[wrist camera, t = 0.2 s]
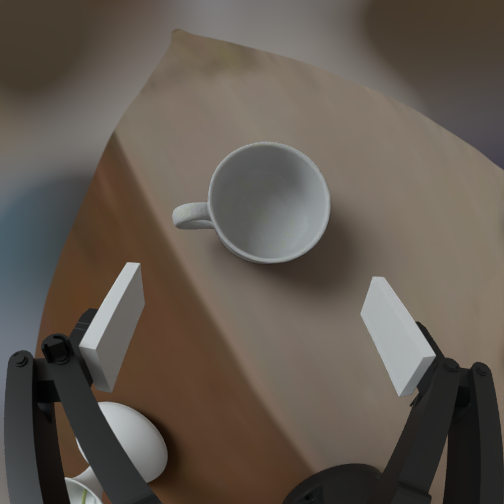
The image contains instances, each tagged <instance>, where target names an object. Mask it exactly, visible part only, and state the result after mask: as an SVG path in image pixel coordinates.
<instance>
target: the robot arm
mask: <svg viewBox="0 0 504 504" xmlns="http://www.w3.org/2000/svg"><path fill="white" fill-rule="evenodd" d="M144 305H145V301H144V294H143V286H142V277H141V268H140V263H128V262H127V264H126V265H125V267H124V268H123V270H122V271H121V273H120V275H119V276H118V278H117V280H116V281H115V283H114V285H113V286H112V288H111V290H110V291H109V293H108V295H107V296H106V298H105V300H104V301H103V303H102V305H101V307H100V308H99V309H92V308H90V309H88V310H87V311H86V312H85V313H83V314H82V316H81V317H80V319H79V321H78V323H77V324H76V326H75V329H73V331H72V333H71V334H70V336H69V338H68V337H67V336H66V335H64V334H59V333H57V334H52V335H50V336H48V337H47V338H46V339H44V340H43V342H42V345H41V349H42V352H43V354H44V356H45V358H39V359H34V358H33V356H32V355H31V353H30V352H28V351H23V350H21V351H18V352H16V353H14V354H13V355H12V356H11V357H10V359H9V362H8V369H7V379H6V391H5V412H4V442H5V443H4V444H5V462H6V474H7V484H8V491H9V498H10V504H71V503H70V499H69V495H68V491H67V486H66V482H65V477H64V472H63V467H62V462H61V456H60V450H59V443H58V436H57V428H56V419H55V409H54V402H61V403H62V405H63V408H64V410H65V413H66V415H67V418H68V420H69V422H70V425H71V427H72V429H73V432H74V434H75V436H76V438H77V440H78V442H79V445H80V447H81V449H82V451H83V453H84V455H85V457H86V459H87V461H88V463H89V464H90V466H91V468H92V470H93V472H94V474H95V476H96V477H97V479H98V481H99V483H100V484H101V486H102V488H103V489H104V491H105V493H106V494H107V496H108V498H109V499H110V501H111V502H112V504H162V503H161V501H160V500H159V499H158V497H157V496H156V495H155V494H154V492H153V491H152V490H151V488H150V487H149V486H148V484H147V483H146V482H145V480H144V479H143V477H142V476H141V474H140V473H139V472H138V470H137V469H136V467H135V466H134V464H133V463H132V461H131V460H130V458H129V457H128V455H127V453H126V452H125V450H124V449H123V447H122V445H121V444H120V442H119V441H118V439H117V437H116V436H115V434H114V432H113V430H112V429H111V427H110V425H109V423H108V422H107V420H106V418H105V416H104V414H103V412H102V410H101V409H100V407H99V405H98V403H97V401H96V399H95V397H94V395H93V393H92V391H91V389H90V388H91V385H92V383H94V385H95V388H96V389H97V390H101V391H106V392H111V393H112V390H113V387H114V384H115V381H116V378H117V375H118V373H119V370H120V367H121V364H122V362H123V359H124V356H125V353H126V351H127V348H128V345H129V343H130V340H131V338H132V335H133V332H134V330H135V327H136V325H137V322H138V320H139V317H140V315H141V312H142V310H143V308H144ZM361 316H362V318H363V320H364V322H365V324H366V327H367V329H368V331H369V333H370V335H371V337H372V339H373V341H374V343H375V345H376V347H377V350H378V352H379V354H380V356H381V358H382V360H383V362H384V365H385V367H386V369H387V371H388V374H389V376H390V378H391V380H392V383H393V385H394V387H395V389H396V392H397V394H398V396H399V397H400V396H406V395H411V394H412V393H413V391H414V390H415V388H416V387H417V388H418V390H419V393H418V395H417V396H416V398H415V399H414V400H413V402H412V403H411V404H410V406H412V405H413V407H412V409H411V412H410V414H409V417H408V419H407V422H406V424H405V427H404V429H403V431H402V434H401V436H400V438H399V441H398V443H397V445H396V447H395V449H394V452H393V454H392V456H391V458H390V460H389V462H388V464H387V466H386V468H385V470H384V472H383V474H382V473H381V472H380V471H379V470H377V469H376V468H374V467H372V466H369V465H365V464H345V465H340V466H335V467H332V468H329V469H326V470H323V471H321V472H319V473H317V474H315V475H313V476H311V477H309V478H308V479H306V480H305V481H303V482H302V483H300V484H299V485H298V486H297V487H295V488H294V489H293V490H292V491H291V492H290V493H289V495H288V496H287V497H286V499H285V500H284V502H283V504H430V502H431V495H429V494H428V492H429V489H430V486H431V484H432V481H433V478H434V475H435V473H436V470H437V467H438V464H439V461H440V458H441V455H442V452H443V448H444V445H445V442H446V438H447V434H448V453H447V469H446V481H445V490H444V498H443V504H504V462H503V446H502V435H501V426H500V418H499V411H498V405H497V399H496V393H495V388H494V382H493V378H492V373H491V370H490V369H489V367H488V366H487V365H485V364H484V363H481V362H476V363H474V364H473V366H472V367H471V368H470V369H466V368H460V366H459V364H458V363H457V362H456V361H454V360H453V359H450V358H445V357H444V355H443V354H442V352H441V350H440V349H439V347H438V346H437V344H436V343H435V341H433V338H432V337H431V335H430V333H429V332H428V330H427V329H426V327H424V326H423V325H422V324H421V323H420V322H415V321H414V320H413V318H412V317H411V315H410V314H409V312H408V311H407V309H406V308H405V307H404V305H403V304H402V302H401V301H400V299H399V298H398V296H397V295H396V293H395V292H394V291H393V289H392V288H391V286H390V285H389V283H388V282H387V281H386V279H385V278H384V277H373V278H372V281H371V284H370V287H369V290H368V293H367V296H366V299H365V302H364V305H363V308H362V311H361Z"/></svg>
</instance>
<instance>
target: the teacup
mask: <svg viewBox="0 0 504 504" xmlns="http://www.w3.org/2000/svg"><path fill="white" fill-rule="evenodd" d="M330 209H331V200H330V192H329V189H328V185H327V183H326V180H325V178H324V176H323V174H322V173H321V171H320V170H319V168H318V167H317V166H316V164H315V163H314V162H313V161H312V160H311V159H310V158H308V157H307V156H306V155H304V154H303V153H302V152H300V151H298V150H296V149H295V148H292V147H290V146H287V145H284V144H280V143H275V142H258V143H252V144H249V145H246V146H242V147H241V148H238V149H236V150H235V151H233V152H231V153H230V154H229V155H228V156H227V157H226V158H225V159H224V160H222V162H221V163H220V164H219V165H218V167H217V169H216V170H215V172H214V174H213V176H212V179H211V182H210V185H209V192H208V202H206V203H205V202H200V203H189V204H184V205H181V206H179V207H177V208H176V209H175V210H174V212H173V216H172V217H173V222H174V225H175V226H176V227H177V228H179V229H207V228H208V229H215V231H216V233H217V235H218V237H219V239H220V240H221V242H222V243H223V244H224V245H225V247H226V248H227V249H228V250H230V251H231V252H232V253H233V254H235V255H236V256H238V257H240V258H242V259H244V260H246V261H250V262H253V263H260V264H271V263H283V262H288V261H291V260H293V259H296V258H298V257H300V256H302V255H304V254H305V253H307V252H308V251H309V250H311V249H312V248H313V247H314V246H315V245H316V244H317V242H318V241H319V240H320V239H321V237H322V235H323V234H324V232H325V230H326V227H327V225H328V221H329V217H330Z"/></svg>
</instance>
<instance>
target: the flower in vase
mask: <svg viewBox="0 0 504 504" xmlns="http://www.w3.org/2000/svg"><path fill="white" fill-rule="evenodd" d="M98 405H99V407H100V409H101V410H102V412H103V414H104V416H105V418H106V420H107V422H108V423H109V425H110V427H111V429H112V430H113V432H114V434H115V436H116V437H117V439H118V441H119V442H120V444H121V445H122V447H123V449H124V450H125V452H126V453H127V455H128V457H129V458H130V460H131V461H132V463H133V464H134V466H135V467H136V469H137V470H138V472H139V473H140V474H141V476H142V477H143V479H144V480H145V482H146V483H148V482H150V481H152V480H154V479H155V478H157V477H158V476H159V475H160V474H161V473H162V472H163V471H164V469H165V467H166V464H167V459H168V454H167V447H166V444H165V442H164V439H163V437H162V436H161V434H160V432H159V431H158V430H157V428H156V427H155V426H154V425H153V424H152V423H151V422H150V421H149V420H148V419H147V418H146V417H145V416H143V415H142V414H140V413H139V412H137V411H136V410H134V409H132V408H130V407H128V406H125V405H122V404H118V403H114V402H100V403H98ZM76 440H77V438H76ZM77 444H78V447H79V449H80V451H81V453H82V455H83V456H84V458H85V459H86V457H85V455H84V453H83V451H82V449H81V447H80V445H79V442H78V440H77ZM86 461H87V459H86ZM87 462H88V461H87ZM65 482H66V486H67V491H68V495H69V499H70V503H71V504H103V502H102V493H103V490H104V489H103V488H102V486H101V484H100V483H99V481H98V479H97V477H96V476H95V474H94V472H93V470H92V468H91V466H89V467H88V468H87V470H86V471H84V472H83V473H82V474H81V475H79V476H77V477H75V478H65Z"/></svg>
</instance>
